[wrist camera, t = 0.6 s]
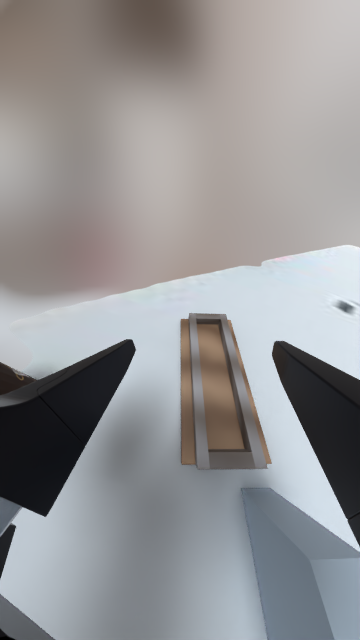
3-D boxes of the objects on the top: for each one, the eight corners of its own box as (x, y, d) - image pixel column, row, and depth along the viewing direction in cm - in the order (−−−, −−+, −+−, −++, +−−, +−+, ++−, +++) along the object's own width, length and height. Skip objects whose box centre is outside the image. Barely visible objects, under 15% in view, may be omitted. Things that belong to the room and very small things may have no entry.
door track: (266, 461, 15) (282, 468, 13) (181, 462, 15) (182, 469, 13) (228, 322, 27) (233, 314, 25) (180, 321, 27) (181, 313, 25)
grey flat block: (316, 663, 9) (768, 1440, 2) (272, 665, 9) (597, 1483, 2) (270, 487, 14) (367, 558, 7) (240, 488, 14) (309, 559, 7)
